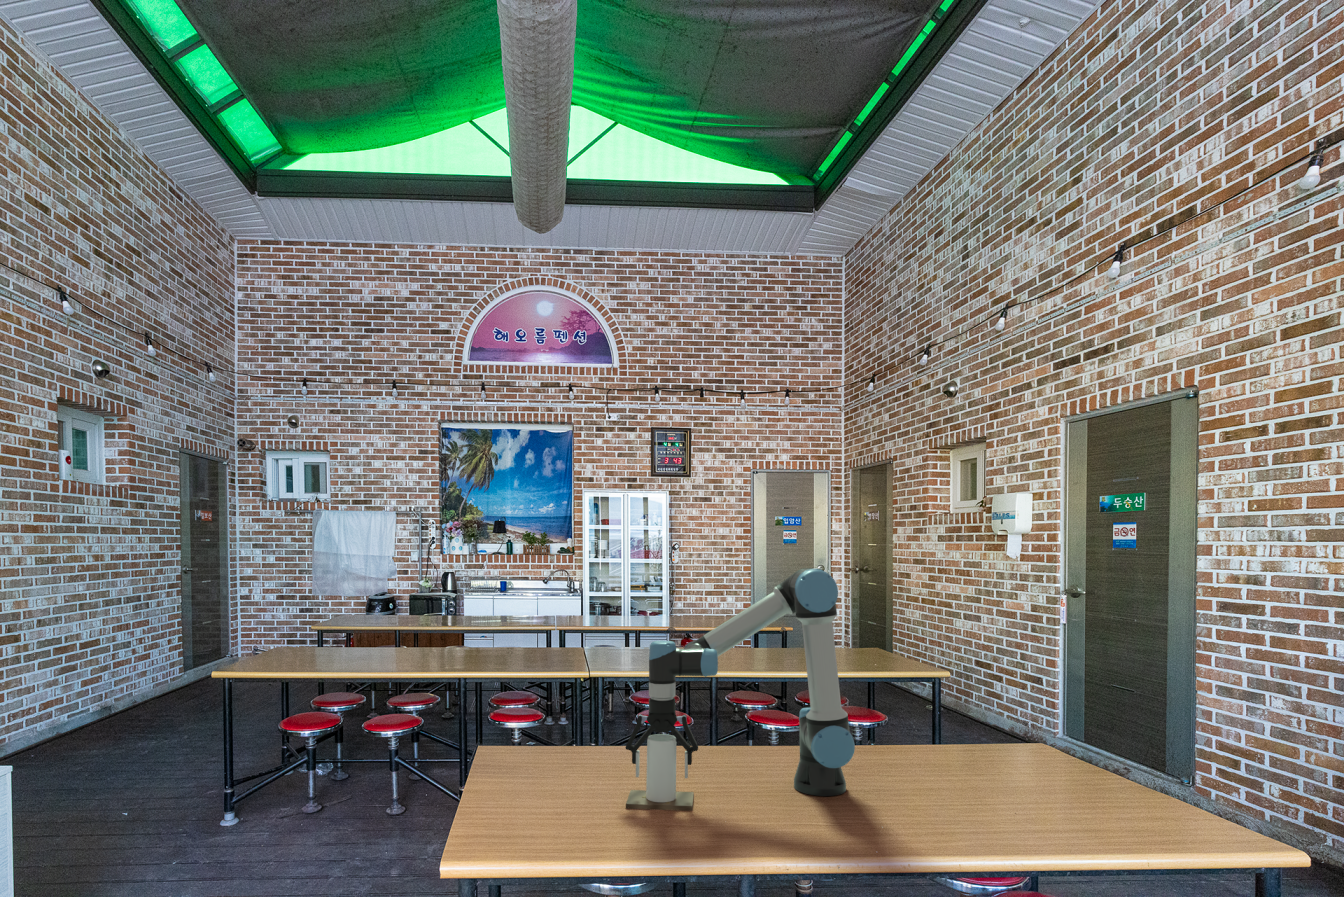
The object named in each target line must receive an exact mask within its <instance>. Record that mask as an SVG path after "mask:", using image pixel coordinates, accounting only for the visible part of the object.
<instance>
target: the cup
mask: <svg viewBox="0 0 1344 897" xmlns="http://www.w3.org/2000/svg"><path fill="white" fill-rule="evenodd" d="M677 741H678V740H677V738H676V737H675V736H674V735H673V734H672V735H671V734H667V733H663V734H662V733H661V734H660V733H657V734H650V735H649V736H648V737H647V739H646V780H645V782H646V783H645V784H646V785H645V786H646V788H645V790H646V798H647V799H648V800H650V801H653V802H670V801H673V800H675V799H676V791H677Z"/></svg>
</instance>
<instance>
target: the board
mask: <svg viewBox="0 0 1344 897" xmlns="http://www.w3.org/2000/svg"><path fill="white" fill-rule="evenodd" d="M694 794H695V792H694V791H677V790H676V799H675V800H673V801H670V802H653V801H650V800H648V799H647V798H646V789H645V790H643V789H642V790H641V789H630V791H629V794H628V797H627V799H626V802H625V809H627V810H631V809H633V810H654V811H655V810H657V811H660V810H661V811H687V812H693V808H694V796H695V795H694Z"/></svg>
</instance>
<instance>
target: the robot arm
mask: <svg viewBox="0 0 1344 897" xmlns="http://www.w3.org/2000/svg"><path fill="white" fill-rule="evenodd" d="M838 597H839V588H838V585H837V582H836V581H835V579H834V578H833V577H832V575H830V574H829V573H828V572H827V571H825V570H823V569H820V568H813V567H812V568H810V567H805V568H801V569H798V570H796V571H795V572H794V573H792V574H791V575H790V576H788V577H787V578H786V579H784V580H783V581H781V582H780V583H778V584H777V585H775V586H774V587H773V591H772V592H771V593H769V594H768V595H766V596H764V597H763V598H761V599H759V600H757V601H756V602H754V603H753V604H751V605H750V606H748V607H747V608H745V609H743V610H742V611H741V612H739V613H737V614H736V615H734V616H732V617H730V618H729V619H728V620H726V621H725V622H723V623H722V624H720V625H718V626H716V627H715V628H713V629H712V630H710V631H708V632H707V633H705V634H703V635H702V636H701V637H699V638H697V639H695V640H694V641H690V642H688V643H687V644H686V645H685V646H684V647H683V648H678V647H677V645H676V642H675V641H672V640H656V641H652V642H651V643H650V645H649V651H648V652H649V654H648V697H650V698H649V699H648V714H647V715H643V714H641V713H639V715H637V719H636V725H635V727H634V729H633V731H632V733H631V735H630V737H629V738H628V741H627V743H626V745H625V750H628V751H630V752H631V763H632V764H633V765H635V778H639V777H640V755H641V754H640V750H639V748H640V747H641V746H642V745H643V743H644V742H645V741H647V737H648V736H650V735H652V733H653V732H656V733H657V734H660V733H663V734H667V733H669V732H670V734H672V735H673V736H675V737H676V739H677V741H678V742H679V743H680V745H681V746H682V747H683V748H684V750H685V751H684V779H688V777H689V766H691V765H692V762H693V752H697V751H699V745H698V743H697V740H696V739H695V736H694V734H693V732H692V730H691V728H690V726H689V724H688V719H687V718H688V717H687V715H686V714H683V715H678V716H677V715H676V699H675V697H676V683H677V682H676V677H704V678H706V677H712V676H713V677H714V676H717V675H718V670H719V669H718V668H719V659H718V658H719V657H720V656H721V655H724V654H725V653H726V652H728V651H729V650H731V649H733V648H734V647H735V646H737V645H739V644H740V643H743V641H746V640H747V639H749V638H750V637H751V636H753V635H755V634H756V633H758V632H760V631H761V630H763V629H764V628H767V627H768V626H769V625H771V624H773V623H775V622H776V621H777V620H778V619H780V618H783V616H785V615H787V614H788V615H794V614H795V618H796V620H798V621H799V622H801V623H800V624H801V626H802V627H801V628H802V636H803V646H804V655H805V666H806V675H807V684H808V685H807V686H808V694H809V695H808V696H809V697H808V698H809V704H810V706H809V707H803V708H801V709H800V710H799V716H798V721H799V722H798V724H799V761H798V764H797V768H796V771H795V774H794V777H793V788H794V789H795V790H797V791H798V792H800V793H803V794H805V795H811V796H815V797H835V796H840V795H843V794H845V792H847V791H846V790H847V781H846V778H845V776H844V775H845V774H844V772H843V770H842V769H843V768H842V767H844V766H846V765H847V764H849V762H850V761H851V760H852V758H853V757H854V754H855V750H856V749H855V748H856V745H855V740H854V736H853V735H852V733H851V732H850V724H849V716H848V715H849V714H848V712H847V711H846V710H845V709H844V708H842V702H841V701H842V700H841V699H842V698H841V691H840V681H839V674H838V673H839V672H838V662H837V653H836V644H835V634H834V627H833V626H834V625H833V621H834V620H835V619H836V617H837V616H838V611H837V601H838ZM645 722H647V723H648V724H649V727H648V728H647V729H646V730H645V732H643V734H642V735H641V736H640V738H639V739H638V740H637V741H636V743H635V744H634V743H633V742H634V740H635V738H636V736H637V734H638V732H639V731H640V728H641V726H642V725H643V724H645ZM677 722H678V723H679V724H680V725H682V728H683V729H684V733H685V734H686V736H687V738H688V740H689V742H690V744H691V745H690V744H689V742H688V741H687V739H686V738H685V737H683V735H682V734H681V732H680V731H679V730H678V728H677V727H676V726H675V724H676V723H677ZM633 744H634V745H633Z"/></svg>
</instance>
